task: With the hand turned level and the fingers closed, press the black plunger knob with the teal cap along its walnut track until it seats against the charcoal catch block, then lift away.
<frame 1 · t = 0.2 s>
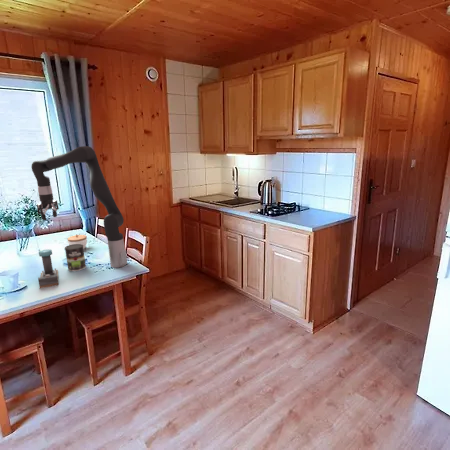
hand: (49, 218, 204), 29 cm above the table, tool pointing down, fingers open, 8 cm apart
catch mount: (49, 276, 187), on the table
knob: (47, 262, 185), point 9 cm above the table, slide at 0.0 cm
coffee can: (77, 268, 199), on the table
lidded bowl: (78, 249, 233), on the table
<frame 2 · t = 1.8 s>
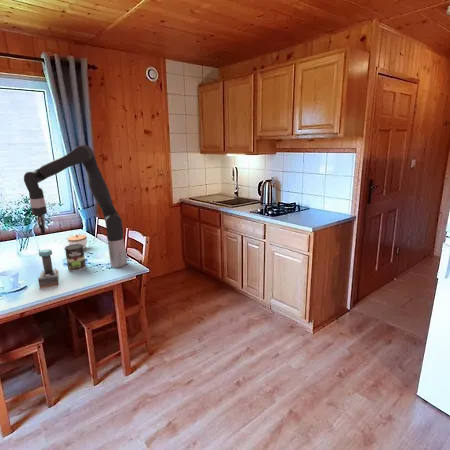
hand: (43, 234, 189), 23 cm above the table, tool pointing down, fingers closed
nothing on the table moved.
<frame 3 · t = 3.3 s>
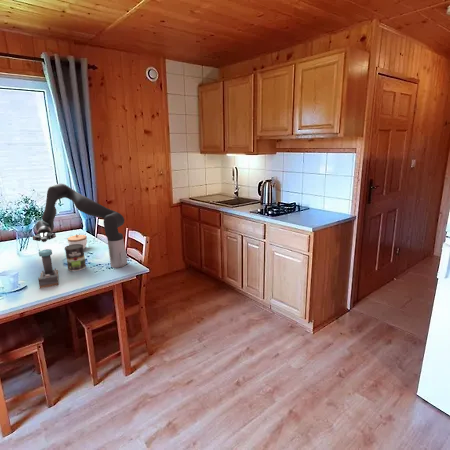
hand: (44, 240, 187), 20 cm above the table, tool horizontal, fingers closed
nothing on the table moved.
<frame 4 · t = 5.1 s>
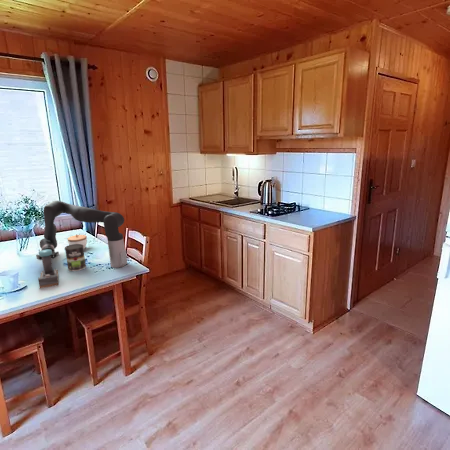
hand: (47, 259, 191), 8 cm above the table, tool horizontal, fingers closed
nothing on the table moved.
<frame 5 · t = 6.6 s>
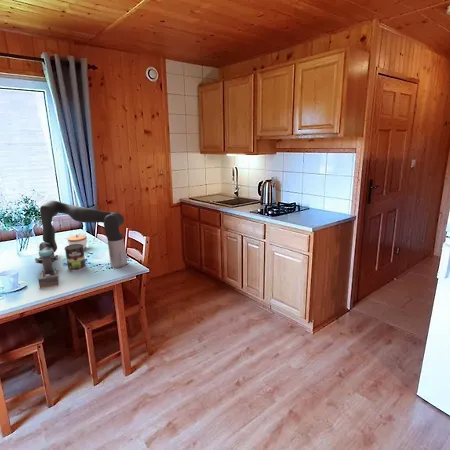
hand: (46, 263, 187), 7 cm above the table, tool horizontal, fingers closed
knob: (47, 262, 185), point 9 cm above the table, slide at 0.2 cm, touching gripper
everything else where it was.
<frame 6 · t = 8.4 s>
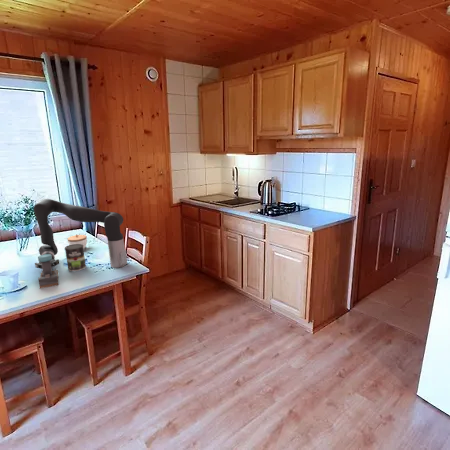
hand: (46, 268, 179), 7 cm above the table, tool horizontal, fingers closed
knob: (46, 268, 177), point 9 cm above the table, slide at 9.0 cm, touching gripper
everything else where it was.
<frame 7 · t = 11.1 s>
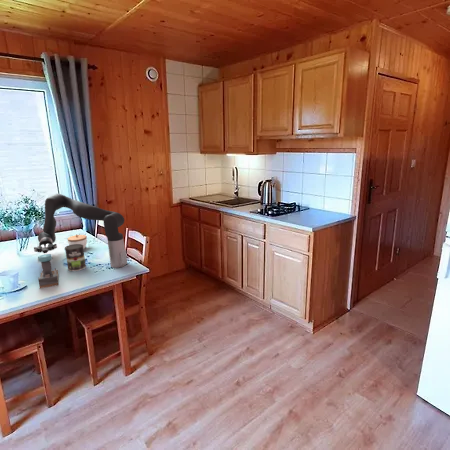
hand: (45, 251, 189), 13 cm above the table, tool horizontal, fingers closed
knob: (46, 268, 177), point 9 cm above the table, slide at 9.0 cm
everything else where it was.
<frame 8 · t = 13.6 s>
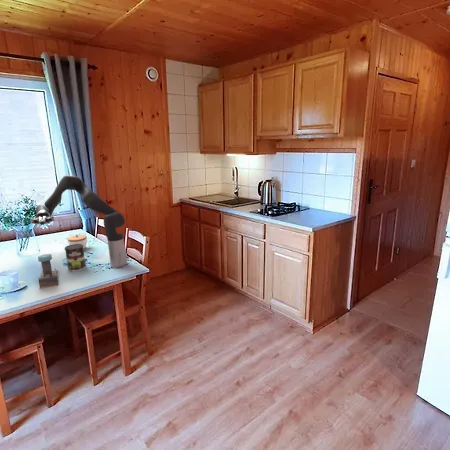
hand: (42, 222, 188), 30 cm above the table, tool horizontal, fingers closed
nothing on the table moved.
at the end: knob slide at 9.0 cm; coffee can moved 0.2 cm from its start; lidded bowl moved 0.2 cm from its start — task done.
